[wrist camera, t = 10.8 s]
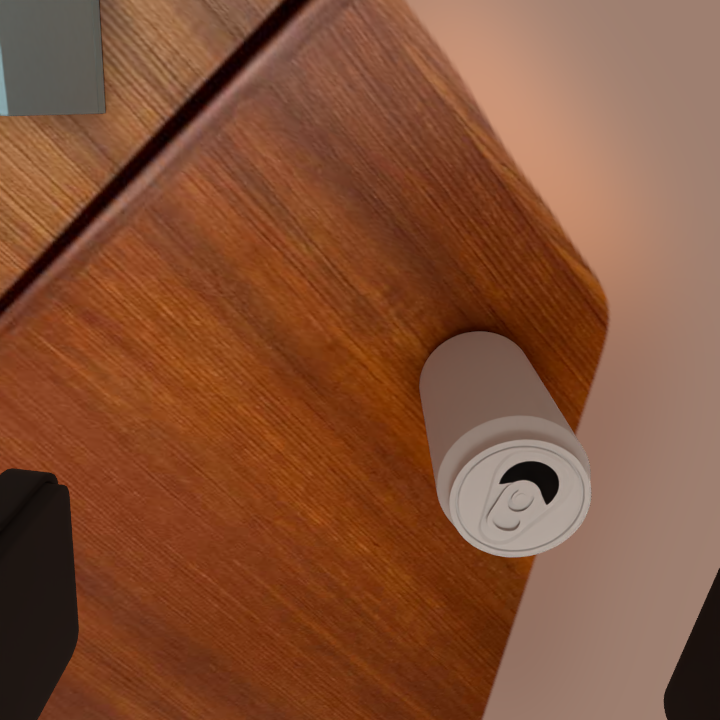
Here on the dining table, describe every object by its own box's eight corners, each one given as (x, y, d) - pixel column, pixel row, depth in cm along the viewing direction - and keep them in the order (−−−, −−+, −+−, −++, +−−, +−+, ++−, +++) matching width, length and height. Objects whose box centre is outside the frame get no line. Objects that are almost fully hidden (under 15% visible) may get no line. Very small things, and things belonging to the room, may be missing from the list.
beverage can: (550, 355, 35) (635, 471, 24) (492, 443, 37) (545, 587, 26) (452, 307, 34) (493, 405, 23) (398, 401, 36) (411, 531, 25)
